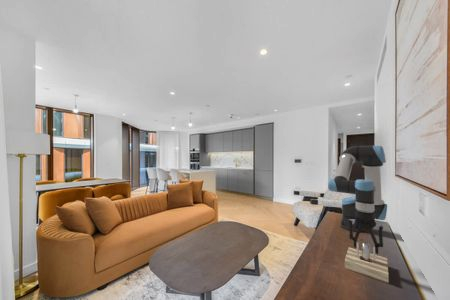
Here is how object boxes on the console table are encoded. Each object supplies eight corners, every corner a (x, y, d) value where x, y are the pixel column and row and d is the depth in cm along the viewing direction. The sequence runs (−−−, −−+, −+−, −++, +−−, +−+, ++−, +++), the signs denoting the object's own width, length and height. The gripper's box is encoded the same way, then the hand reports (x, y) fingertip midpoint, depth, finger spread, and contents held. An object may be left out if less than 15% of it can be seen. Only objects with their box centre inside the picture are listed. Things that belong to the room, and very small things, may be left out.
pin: (362, 262, 90) (361, 241, 91) (370, 265, 88) (369, 243, 89) (361, 265, 88) (361, 243, 88) (370, 268, 86) (369, 245, 86)
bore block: (348, 254, 99) (348, 247, 99) (387, 266, 89) (386, 258, 89) (344, 268, 87) (344, 259, 87) (388, 283, 77) (388, 274, 77)
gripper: (341, 208, 92) (342, 253, 92) (390, 216, 80) (392, 268, 79) (343, 205, 98) (344, 247, 97) (389, 212, 86) (391, 260, 85)
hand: (365, 256), depth 88 cm, fingers open, 6 cm apart
